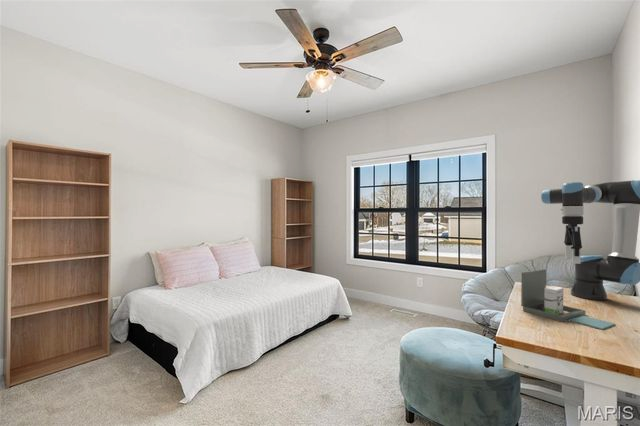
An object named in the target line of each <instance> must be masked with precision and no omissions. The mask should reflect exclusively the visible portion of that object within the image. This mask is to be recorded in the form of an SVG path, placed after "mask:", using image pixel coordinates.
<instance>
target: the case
mask: <svg viewBox="0 0 640 426" xmlns="http://www.w3.org/2000/svg"><path fill="white" fill-rule="evenodd" d="M520 285H521V287H520V289H521V290H520V291H521V295H520V296H521V297H520V299H521V300H520V302H521V304H520V305H521V307H522V311H523V312H525V313H526V312H527V313H530V314H533V315H537V316H541V317H544V318H548V319H551V320H555V321H558V322H562V323H563V322H566V321H569V319H572V318H575V317H579V316H582V315H583V316H586V310H585V309H580V308H577V307H572V306H568V305H565V304H563V311H565V312H567V313H562V314H559V315H555V314H552V313H548V312H544V311H543V310H544V288H545V287H547V269H545V268H543V269H537V270H530V271H529V270H528V271H522V272H521V284H520ZM542 309H543V310H542Z"/></svg>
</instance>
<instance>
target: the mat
mask: <svg viewBox="0 0 640 426" xmlns="http://www.w3.org/2000/svg"><path fill="white" fill-rule="evenodd" d="M568 321H569V322H572V323H576V324H579V325H584V326H586V327H590V328H594V329H596V330H597V329H598V330H601V331H603V330H606V329H608V328H611V327H613V326H616V323H614V322H610V321H606V320H602V319H600V318H599V319H598V318H595V317H591V316H587V315H584V316H583V315H582V316H579V317H575V318H572V319H569V320H568Z"/></svg>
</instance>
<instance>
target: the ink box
mask: <svg viewBox="0 0 640 426" xmlns="http://www.w3.org/2000/svg"><path fill="white" fill-rule="evenodd" d="M563 305H564V287H559V286H555V285H549V286H546V287H545V288H544V308H543V310H544V312H548V313H552V314H555V315H562V314H564V310H563Z"/></svg>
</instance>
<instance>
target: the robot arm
mask: <svg viewBox="0 0 640 426" xmlns="http://www.w3.org/2000/svg"><path fill="white" fill-rule="evenodd" d="M561 186H562V188H557V189H556V188H555V189H554V188H553V189H552V188H551V189H545V190H543V191H542V192H541V196H540V199H541V201H542V203H543V204H545V205H546V204H547V205H553V204H554V205H555V204H557V205H558V204H560V205H561V204H562V205H561V207H562V208H560V211H562V213H561V214H562V215H563V216H562V217H561V222H562V224H563V225H565V233H564V234H565V235H564V241H563V243H564V244H565V245H564V246H565V248H564V250H565V252H564V253H565V254H564V255H565V256H564V258H565V259H566V260H571V263H572V264H574V265H575V266H574V282H573V285H572V287H571V290H570V294H571V296H574V297H577V298H580V299H585V300H593V301H607V300H608V294H607V291H606V289H605V287H604V281H606V282H611V283H617V284H622V285H627V286H635V285H637V284H639V283H640V258H638V256H636V251H637V241H638V232H639V225H640V180H638V179H637V180H635V179H634V180H632V179H631V180H624V181H623V180H621V181H609V182H608V181H607V182H602V183H601V182H600V183H597V184H590V185H586V186H584V183H583V182H581V181H580V182H578V181H577V182H564V183H563V184H562V185H561ZM591 203H599V204H602V203H604V204H612V205H613V207H614V208H615V209H616V211H615V221H614V231H613V239H612V249H611V253H609V254H608V255H607V257H606V258H604V256H603V255H581V250H582V248H583V246H582V245H583V244H582V239H581V227H580V226H578V225H583V224H584V216H583V215H584V204H591Z"/></svg>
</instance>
